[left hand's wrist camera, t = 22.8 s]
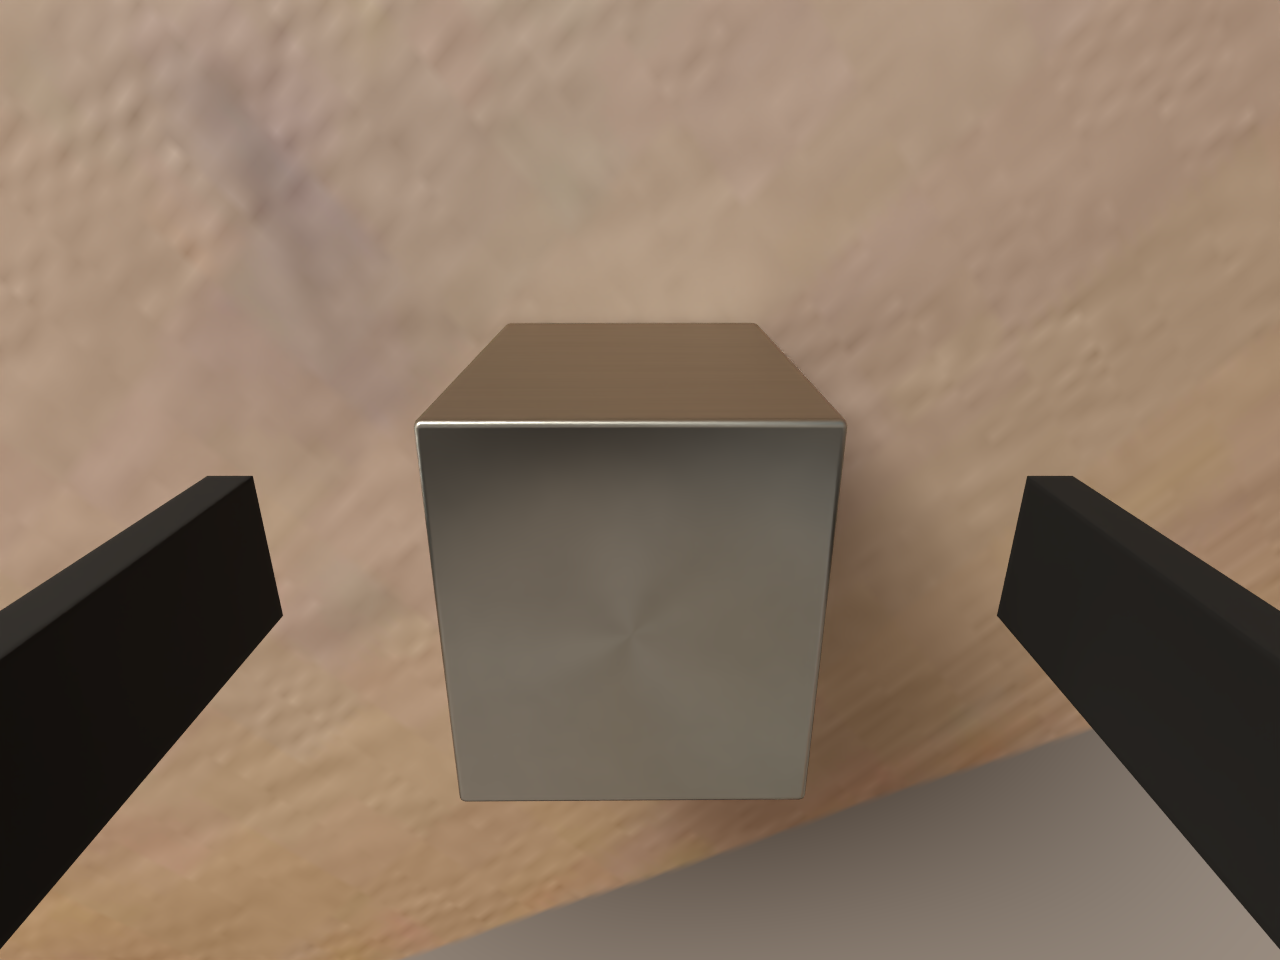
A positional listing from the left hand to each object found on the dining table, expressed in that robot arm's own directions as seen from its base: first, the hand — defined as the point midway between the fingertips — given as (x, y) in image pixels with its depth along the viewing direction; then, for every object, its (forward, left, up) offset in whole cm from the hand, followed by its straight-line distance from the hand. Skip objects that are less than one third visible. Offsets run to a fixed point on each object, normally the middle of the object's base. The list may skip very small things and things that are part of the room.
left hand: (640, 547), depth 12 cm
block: (0, 0, -4) cm, 4 cm away
